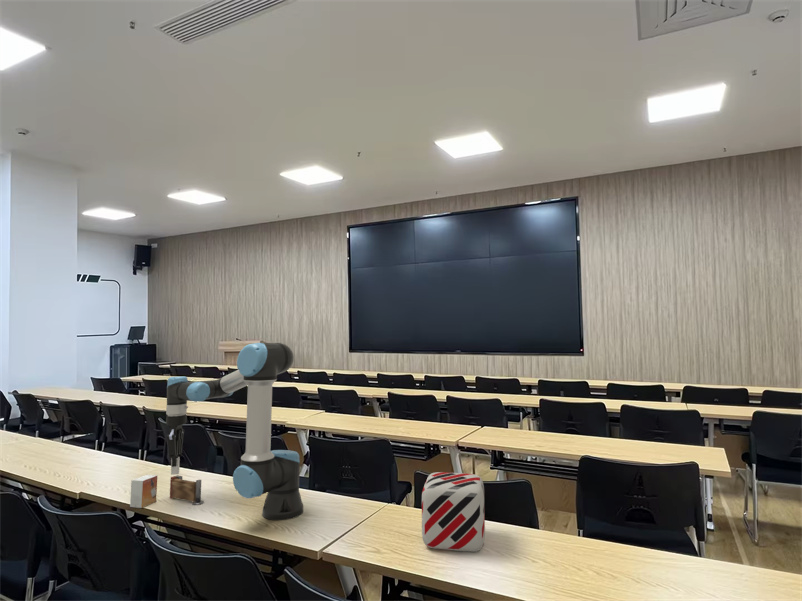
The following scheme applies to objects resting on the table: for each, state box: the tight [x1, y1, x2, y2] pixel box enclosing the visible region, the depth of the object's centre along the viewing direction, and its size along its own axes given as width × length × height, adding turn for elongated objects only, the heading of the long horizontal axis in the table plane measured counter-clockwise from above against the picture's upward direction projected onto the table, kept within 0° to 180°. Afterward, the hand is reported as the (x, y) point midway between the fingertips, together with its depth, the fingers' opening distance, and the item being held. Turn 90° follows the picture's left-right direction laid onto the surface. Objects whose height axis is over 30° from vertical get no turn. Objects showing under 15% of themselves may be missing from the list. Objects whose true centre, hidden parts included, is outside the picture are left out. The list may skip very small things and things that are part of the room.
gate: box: [169, 475, 196, 502], centre depth 189 cm, size 13×2×8 cm, turn 67°
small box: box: [129, 474, 158, 509], centre depth 185 cm, size 8×6×10 cm
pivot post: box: [191, 479, 205, 506], centre depth 186 cm, size 4×4×9 cm
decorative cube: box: [421, 471, 486, 552], centre depth 152 cm, size 20×20×20 cm
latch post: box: [174, 474, 183, 480], centre depth 194 cm, size 5×3×8 cm, turn 65°
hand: (175, 474), depth 186 cm, fingers closed
